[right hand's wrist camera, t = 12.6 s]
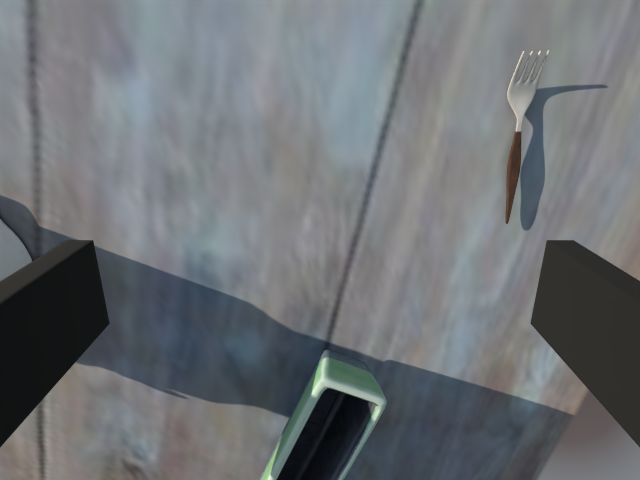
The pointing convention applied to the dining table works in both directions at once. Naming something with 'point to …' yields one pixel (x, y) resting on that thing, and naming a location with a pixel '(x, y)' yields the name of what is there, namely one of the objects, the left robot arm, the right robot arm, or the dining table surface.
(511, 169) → the fork
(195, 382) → the dining table surface
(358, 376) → the planter
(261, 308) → the dining table surface
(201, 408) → the dining table surface
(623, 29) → the dining table surface
